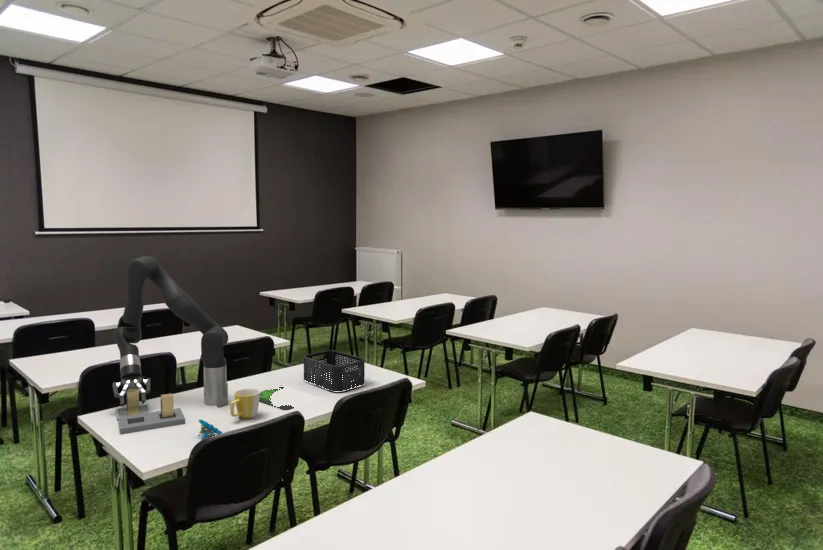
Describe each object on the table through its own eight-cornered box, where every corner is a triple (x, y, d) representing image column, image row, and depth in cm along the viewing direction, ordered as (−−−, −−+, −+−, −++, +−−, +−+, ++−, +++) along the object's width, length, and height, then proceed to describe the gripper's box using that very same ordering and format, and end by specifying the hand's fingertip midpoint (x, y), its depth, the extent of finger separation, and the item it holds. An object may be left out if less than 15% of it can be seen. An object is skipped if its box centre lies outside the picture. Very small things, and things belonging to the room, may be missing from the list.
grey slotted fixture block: (180, 414, 215) (180, 407, 215) (185, 426, 204) (185, 418, 204) (118, 424, 204) (118, 417, 204) (120, 436, 193) (120, 429, 193)
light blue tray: (148, 408, 222) (148, 403, 221) (151, 418, 211) (151, 413, 211) (115, 413, 215) (115, 408, 215) (117, 423, 205) (117, 418, 205)
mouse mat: (323, 398, 241) (323, 396, 241) (286, 412, 223) (286, 409, 223) (282, 386, 256) (282, 384, 256) (245, 398, 238) (245, 395, 238)
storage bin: (300, 380, 265) (300, 354, 263) (331, 373, 279) (331, 348, 278) (336, 394, 246) (337, 366, 244) (367, 386, 260) (368, 359, 258)
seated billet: (172, 417, 210) (171, 393, 209) (173, 421, 206) (173, 396, 205) (160, 419, 208) (160, 395, 206) (161, 423, 204) (161, 398, 203)
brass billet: (138, 411, 216) (137, 388, 215) (139, 415, 213) (138, 391, 212) (126, 413, 214) (126, 389, 213) (127, 416, 210) (126, 392, 209)
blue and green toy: (228, 434, 194) (208, 419, 189) (218, 448, 191) (197, 434, 186) (215, 429, 202) (195, 415, 197) (205, 443, 199) (185, 429, 194)
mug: (251, 410, 223) (251, 386, 222) (265, 416, 217) (265, 391, 216) (221, 419, 212) (221, 393, 211) (236, 425, 206) (236, 399, 205)
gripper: (110, 365, 214) (112, 402, 205) (150, 361, 221) (153, 397, 213) (110, 374, 219) (112, 411, 210) (149, 370, 226) (152, 405, 218)
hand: (133, 404), depth 211 cm, fingers open, 6 cm apart
